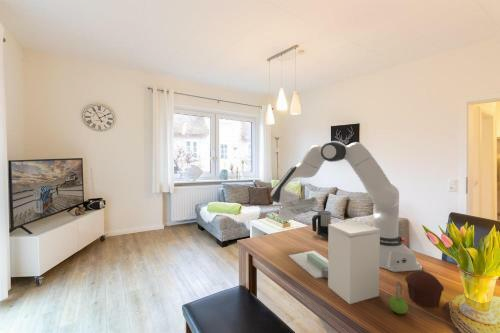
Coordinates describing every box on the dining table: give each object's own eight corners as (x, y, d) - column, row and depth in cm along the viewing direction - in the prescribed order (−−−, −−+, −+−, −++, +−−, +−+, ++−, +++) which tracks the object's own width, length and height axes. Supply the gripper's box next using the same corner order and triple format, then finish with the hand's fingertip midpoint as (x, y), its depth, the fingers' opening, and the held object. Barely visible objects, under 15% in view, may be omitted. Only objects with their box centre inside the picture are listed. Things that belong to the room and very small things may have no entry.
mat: (288, 256, 125) (288, 255, 125) (314, 251, 130) (314, 250, 130) (315, 278, 102) (315, 277, 102) (345, 272, 108) (345, 270, 108)
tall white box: (328, 286, 96) (328, 224, 95) (355, 280, 101) (355, 220, 100) (349, 304, 85) (350, 233, 83) (378, 295, 90) (380, 228, 88)
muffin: (401, 289, 94) (401, 264, 93) (434, 293, 91) (434, 268, 90) (411, 307, 83) (412, 280, 82) (449, 313, 79) (450, 285, 79)
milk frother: (322, 230, 166) (322, 209, 165) (343, 236, 154) (343, 214, 153) (309, 235, 157) (309, 213, 156) (330, 241, 145) (331, 218, 144)
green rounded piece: (388, 315, 79) (388, 281, 78) (389, 305, 84) (389, 272, 83) (407, 321, 76) (408, 285, 75) (407, 310, 81) (408, 276, 80)
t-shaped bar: (302, 260, 119) (302, 254, 118) (316, 257, 121) (316, 252, 121) (326, 278, 102) (326, 271, 102) (340, 274, 104) (340, 268, 104)
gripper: (276, 204, 131) (287, 195, 119) (308, 201, 138) (320, 192, 126) (279, 215, 128) (290, 207, 117) (311, 211, 135) (324, 203, 124)
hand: (306, 199), depth 121 cm, fingers open, 8 cm apart
